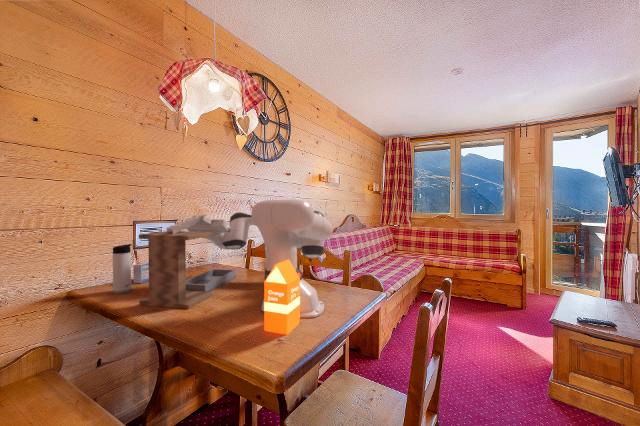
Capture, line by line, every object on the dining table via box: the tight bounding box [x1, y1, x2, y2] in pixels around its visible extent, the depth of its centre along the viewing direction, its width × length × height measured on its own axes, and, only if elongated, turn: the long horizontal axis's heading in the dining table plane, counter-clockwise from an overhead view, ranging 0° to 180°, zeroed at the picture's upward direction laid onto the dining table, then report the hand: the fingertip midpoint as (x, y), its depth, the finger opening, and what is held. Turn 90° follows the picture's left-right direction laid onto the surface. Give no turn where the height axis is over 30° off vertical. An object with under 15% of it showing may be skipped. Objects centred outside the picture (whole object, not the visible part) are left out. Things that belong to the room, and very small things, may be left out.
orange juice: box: [263, 259, 301, 335], centre depth 85 cm, size 8×9×20 cm
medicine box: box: [132, 261, 149, 284], centre depth 135 cm, size 8×4×9 cm, turn 168°
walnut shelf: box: [138, 230, 213, 310], centre depth 108 cm, size 20×15×26 cm
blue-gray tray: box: [186, 268, 237, 292], centre depth 130 cm, size 13×28×4 cm, turn 170°
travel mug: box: [112, 243, 133, 295], centre depth 118 cm, size 6×7×20 cm
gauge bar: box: [166, 214, 207, 234], centre depth 114 cm, size 2×22×2 cm, turn 170°
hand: (198, 217), depth 121 cm, fingers closed on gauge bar, 2 cm apart
